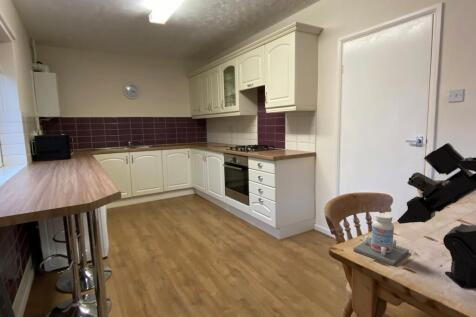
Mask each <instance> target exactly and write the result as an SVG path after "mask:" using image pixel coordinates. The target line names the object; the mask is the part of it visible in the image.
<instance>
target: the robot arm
mask: <svg viewBox="0 0 476 317" xmlns="http://www.w3.org/2000/svg"><path fill="white" fill-rule="evenodd" d="M423 159H424V160H425V161H426V163H428V164H429V166H430V167H432V168H433V170H435V172H436V173H438V174H439V175H445V176H449V175H450V174H451V173H453V172H455V171H457V170H458V171H457V172H456V173H454V174H452V175H450V176H449V177H447V178H446V179H444V180H441V181H439V182H438V181H436V180H434V179H432V178H431V177H428V176H427V175H425V174H424V173H421V172H418V171H417V172H414V173H412V174H411V176H410V177H409V178H408V181H407V182H406V183H407V184H408V185H409V186H411V187H413V188H416V189H417V190H418V191H421V196H417V195H416V196H415V197H412V198H411V199H410V200H408V201H406V206H407V207H406V208H407V210H406V211H405V212H404V213H403V214H402V215H401V216H400V217H398V219H397V221H396V222H397V223H398V224H411V223H426V222H428V221H431V220H432V219H433V218H434V217H435V216H436V212H438V213H440V212H442V211H443V210H444V209H446V208H447V207H449V206H451V205H453V204H455V203H457V202H459V201H460V200H462V199H464V198H466V197H467V196H469V195H470V194H472V193H475V192H476V157H472V156H469V157H466V158H465V157H463V155H461V154H460V153H459V152H458V151H457V150H456V149H455V148H454V146H453V145H452V144H451V143H450V142H448V143H445V144H443V145H441V146H440V147H438V148H437V149H435V150H433V151H430V152H429V153H427V155H426V156H424V157H423ZM473 172H475V173H473ZM442 240H443V241H442V242H443V245H444V247H445V248H446V249H447V251H449V253H450V257H451V265H450V271H445V272H444V274H445V275H446V276H447V277H448V278H449V279H450V280H452V281H453V282H454V283H455V284H457V285H458V287H461V288H467V289H469V288H470V289H476V224H471V225H469V224H464V223H461V224H460V225H458V226H454V227H453V228H451V229H450V230H449V231H448V232H447V233H446V234H445V235H444V236H443V239H442Z"/></svg>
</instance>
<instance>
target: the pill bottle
mask: <svg viewBox="0 0 476 317" xmlns="http://www.w3.org/2000/svg"><path fill="white" fill-rule="evenodd" d="M392 221H393V216H392V215H391V214H390V213H389V214H388V213H383V212H378V213H375V220H374V221H372V224H371V225H372V227H371V237H370V238H371V247H372V249H374V250H375V251H378V252H381V247H385V248H386V253H389V252H391V251H392V246H393V239H394V232H395V225H394V224H393V223H392Z"/></svg>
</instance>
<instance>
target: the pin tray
mask: <svg viewBox="0 0 476 317" xmlns="http://www.w3.org/2000/svg"><path fill="white" fill-rule="evenodd" d="M371 238H372V237H369V236H367V235H365V236H364V241H362V242H361V243H359V244H357V245H356V246H355V247H353V249H352V250H353V252H354V253H356V254H360V255H363V256H366V257H367V258H368V257H369V258H372V260H373V259H374V260H376V261H379V262H382V263H385V264H387V265H389V266H390V265H391V266H393V267H394V266H395V265H396V264H398V263H399V262H400V261H401V260H402V259H403V258H404V257H406V255H408V254H409V252H410V249H408V248H406V247H402V246H399V245H397V240H396V239H394V238H393V246H392V251H391V252H389V253H386V248H385V247H381V252H378V251H375V250H374V249H372V247H371Z"/></svg>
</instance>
